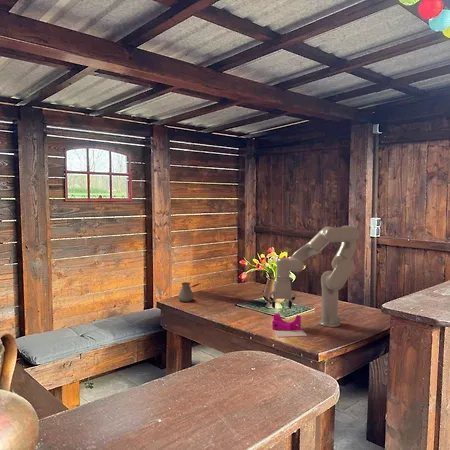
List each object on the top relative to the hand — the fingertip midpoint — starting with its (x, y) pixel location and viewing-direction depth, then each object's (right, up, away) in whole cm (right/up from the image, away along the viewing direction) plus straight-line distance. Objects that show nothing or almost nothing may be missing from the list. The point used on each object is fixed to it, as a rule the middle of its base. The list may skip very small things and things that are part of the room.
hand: (281, 308), depth 236 cm
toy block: (+2, -11, -7) cm, 13 cm away
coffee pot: (-58, -7, +54) cm, 80 cm away
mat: (+3, -11, -15) cm, 19 cm away
